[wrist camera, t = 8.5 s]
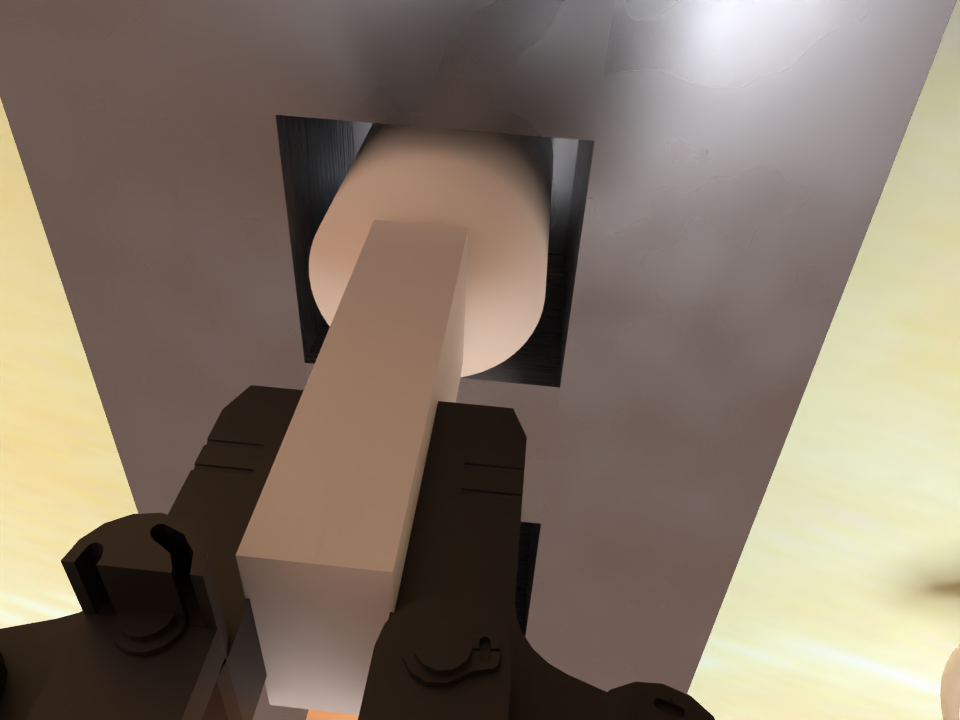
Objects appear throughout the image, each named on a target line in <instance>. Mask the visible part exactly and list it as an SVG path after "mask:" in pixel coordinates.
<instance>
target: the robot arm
mask: <svg viewBox="0 0 960 720" xmlns="http://www.w3.org/2000/svg"><path fill="white" fill-rule="evenodd" d="M467 249H468V228H465V227H453V226H442V225H430V224H419V223H407V222H396V221H384V220H374V221H373V224H372V226H371V229H370V231H369V233H368V236H367V238H366V241H365V243H364V246H363V248H362V250H361V253H360V255H359V258H358V260H357V262H356V265H355V267H354V270H353V272H352V275H351V277H350V279H349V282H348V284H347V287H346V289H345V292H344V294H343V296H342V299H341V301H340V304H339V306H338V309H337V311H336V313H335V316H334V318H333V321H332V323H331V325H330V328H329V330H328V333H327V335H326V338H325V340H324V342H323V345H322V347H321V350H320V352H319V355H318V357H317V359H316V362H315V364H314V367H313V369H312V371H311V374H310V376H309V379H308V381H307V384H306V386H305V388H304V390H297V389H286V388H276V387H266V386H255V385H251V386H249V387H248V388H247V389H246V390H245V391H243V392H242V393H241V394H240V395H239V396H238V397H236V398H235V399H234V400H233V401H232V402H231V403H229V404H228V405H227V406H226V407H225V408H223V409H222V411H221V413H220V415H219V417H218V419H217V421H216V423H215V425H214V427H213V429H212V430H211V432H210V434H209V436H208V438H207V444H206V445H204V446H203V448H202V450H201V452H200V454H199V455H198V457H197V459H196V461H195V463H194V465H195V466H194V470H191V471H190V473H189V475H188V477H187V479H186V480H185V482H184V484H183V486H182V488H181V490H180V492H179V494H178V496H177V498H176V500H175V502H174V504H173V505H172V507H171V509H170V511H169V513H168V515H167V514H164V513H145V514H132V515H129V516H126V517H123V518H120V519H117V520H114V521H110V522H107V523H105V524H103V525H101V526H100V527H98V528H97V529H95V530H94V531H92V532H91V533H89V534H87V535H86V536H84V537H83V538H81V539H80V540H79V541H78V542H77V543H76V544H75V545H74V546H73V548H72V549H71V550H70V551H69V552H68V553H67V554H66V556H65V557H64V558H63V559H62V560H61V563H62V565H63V567H64V569H65V572H66V574H67V576H68V578H69V581H70V583H71V585H72V587H73V590H74V592H75V594H76V596H77V599H78V601H79V603H80V605H81V607H82V610H83V611H82V612H80V613H76V614H73V615H69V616H65V617H62V618H58V619H53V620H48V621H42V622H36V623H31V624H25V625H20V626H14V627H8V628H3V629H0V720H253V717H254V713H255V710H256V707H257V704H258V701H259V698H260V695H261V692H262V689H263V686H264V683H265V686H266V690H267V694H268V699H269V703H270V705H275V706H284V707H292V708H301V709H310V710H318V711H327V712H335V713H344V714H352V715H359V717H358V720H715V719H714V717H713V716H712V715H711V714H710V713H709V712H708V711H707V710H706V709H704V708H703V707H702V706H701V705H700V704H699V703H698V702H697V701H695V700H694V699H693V698H692V697H691V696H690V695H687V694H685V693H683V692H681V691H678V690H676V689H674V688H672V687H669V686H667V685H665V684H661V683H647V682H632V683H629V684H626V685H623V686H620V687H617V688H614V689H611V690H609V691H608V692H606V691H603V690H601V689H599V688H597V687H595V686H592V685H590V684H588V683H586V682H583V681H581V680H579V679H577V678H575V677H572V676H570V675H568V674H566V673H564V672H563V671H561V670H559V669H558V668H556V667H554V666H552V665H551V664H549V663H548V662H547V661H546V660H545V659H543V658H542V657H541V656H540V655H539V654H538V653H537V652H536V651H535V650H534V649H533V648H532V646H531V645H530V643H529V642H528V640H527V639H526V637H525V636H524V634H523V633H522V630H521V627H520V625H519V622H518V619H517V616H516V604H515V593H516V579H517V565H518V552H519V538H520V524H521V511H522V496H523V483H524V469H525V456H526V442H527V436H526V434H525V432H524V430H523V428H522V426H521V424H520V422H519V420H518V417H517V415H516V413H515V411H514V409H513V408H506V407H495V406H485V405H475V404H464V403H456V399H457V394H458V388H459V383H460V377H461V372H462V366H463V350H464V325H465V300H466V274H467Z"/></svg>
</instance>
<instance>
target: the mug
mask: <svg viewBox="0 0 960 720" xmlns="http://www.w3.org/2000/svg"><path fill="white" fill-rule="evenodd" d="M940 697H941V707H942V715H943V720H959V710H960V645H959V646H958V647H957V648H956V649H955V650H954V651H953V652H952V654H951V656H950V658H949V660H948V661H947V663H946V666H945V669H944V672H943V676H942V680H941V694H940Z"/></svg>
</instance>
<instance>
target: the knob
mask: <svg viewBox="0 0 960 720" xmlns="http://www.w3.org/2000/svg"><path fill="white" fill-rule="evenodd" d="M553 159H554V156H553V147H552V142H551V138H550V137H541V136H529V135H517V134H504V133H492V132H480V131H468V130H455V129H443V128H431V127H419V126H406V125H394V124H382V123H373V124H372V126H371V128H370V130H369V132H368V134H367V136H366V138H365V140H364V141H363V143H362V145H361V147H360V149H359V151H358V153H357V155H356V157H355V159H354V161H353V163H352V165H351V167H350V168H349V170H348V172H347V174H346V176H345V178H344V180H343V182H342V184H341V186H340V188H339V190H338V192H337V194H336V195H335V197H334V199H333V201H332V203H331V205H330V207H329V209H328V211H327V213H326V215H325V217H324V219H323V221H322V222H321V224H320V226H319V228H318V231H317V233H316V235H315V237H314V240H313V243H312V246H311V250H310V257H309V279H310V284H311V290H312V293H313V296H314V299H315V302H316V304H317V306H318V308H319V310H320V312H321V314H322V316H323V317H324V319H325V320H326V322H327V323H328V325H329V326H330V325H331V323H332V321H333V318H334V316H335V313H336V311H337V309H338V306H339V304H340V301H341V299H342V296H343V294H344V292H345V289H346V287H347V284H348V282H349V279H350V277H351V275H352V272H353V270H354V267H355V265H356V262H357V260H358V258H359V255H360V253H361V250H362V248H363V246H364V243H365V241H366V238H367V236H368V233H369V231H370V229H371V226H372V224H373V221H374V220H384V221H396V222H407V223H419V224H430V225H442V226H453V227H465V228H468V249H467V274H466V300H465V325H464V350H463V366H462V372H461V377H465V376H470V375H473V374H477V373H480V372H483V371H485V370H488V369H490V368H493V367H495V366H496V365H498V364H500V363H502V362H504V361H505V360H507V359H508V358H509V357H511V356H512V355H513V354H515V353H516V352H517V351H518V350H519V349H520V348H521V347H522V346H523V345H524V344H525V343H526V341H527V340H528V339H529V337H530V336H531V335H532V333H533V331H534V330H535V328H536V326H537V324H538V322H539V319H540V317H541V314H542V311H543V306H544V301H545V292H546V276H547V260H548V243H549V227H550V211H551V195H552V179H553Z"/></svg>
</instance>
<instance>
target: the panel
mask: <svg viewBox="0 0 960 720" xmlns="http://www.w3.org/2000/svg"><path fill="white" fill-rule="evenodd" d="M956 1H957V0H0V97H1V100H2V103H3V106H4V109H5V112H6V115H7V118H8V121H9V125H10V128H11V131H12V134H13V137H14V140H15V143H16V146H17V149H18V152H19V155H20V158H21V161H22V164H23V167H24V170H25V173H26V176H27V179H28V182H29V185H30V188H31V191H32V194H33V197H34V200H35V203H36V206H37V209H38V212H39V215H40V218H41V221H42V224H43V227H44V230H45V233H46V236H47V239H48V242H49V245H50V248H51V251H52V254H53V257H54V260H55V263H56V266H57V269H58V272H59V275H60V278H61V281H62V284H63V287H64V290H65V293H66V296H67V299H68V302H69V305H70V308H71V311H72V314H73V317H74V320H75V323H76V326H77V329H78V332H79V335H80V338H81V341H82V344H83V347H84V350H85V353H86V357H87V360H88V363H89V366H90V369H91V372H92V375H93V378H94V381H95V384H96V387H97V390H98V393H99V396H100V399H101V402H102V405H103V408H104V411H105V414H106V417H107V420H108V423H109V426H110V429H111V432H112V435H113V438H114V441H115V444H116V447H117V450H118V453H119V456H120V459H121V462H122V465H123V468H124V471H125V474H126V477H127V480H128V483H129V486H130V489H131V492H132V495H133V498H134V501H135V504H136V507H137V510H138V513H139V514H145V513H164V514H167V515H168V513H169V511H170V509H171V507H172V505H173V504H174V502H175V500H176V498H177V496H178V494H179V492H180V490H181V488H182V486H183V484H184V482H185V480H186V479H187V477H188V475H189V473H190V471H191V470H194V466H195V465H194V463H195V461H196V459H197V457H198V455H199V454H200V452H201V450H202V448H203V446H204V445H206V444H207V438H208V436H209V434H210V432H211V430H212V429H213V427H214V425H215V423H216V421H217V419H218V417H219V415H220V413H221V411H222V409H223V408H225V407H226V406H227V405H228V404H229V403H231V402H232V401H233V400H234V399H235V398H236V397H238V396H239V395H240V394H241V393H242V392H243V391H245V390H246V389H247V388H248V387H249V386H251V385H255V386H266V387H276V388H286V389H297V390H304V388H305V386H306V384H307V381H308V379H309V376H310V374H311V371H312V369H313V367H314V364H315V362H316V359H317V357H318V355H319V352H320V350H321V347H322V345H323V342H324V340H325V338H326V335H327V333H328V330H329V328H330V326H329V325H328V323H327V322H326V320H325V319H324V317H323V316H322V314H321V312H320V310H319V308H318V306H317V304H316V302H315V299H314V296H313V293H312V290H311V284H310V279H309V257H310V250H311V246H312V243H313V240H314V237H315V235H316V233H317V231H318V228H319V226H320V224H321V222H322V221H323V219H324V217H325V215H326V213H327V211H328V209H329V207H330V205H331V203H332V201H333V199H334V197H335V195H336V194H337V192H338V190H339V188H340V186H341V184H342V182H343V180H344V178H345V176H346V174H347V172H348V170H349V168H350V167H351V165H352V163H353V161H354V159H355V157H356V155H357V153H358V151H359V149H360V147H361V145H362V143H363V141H364V140H365V138H366V136H367V134H368V132H369V130H370V128H371V126H372V124H373V123H382V124H394V125H406V126H419V127H431V128H443V129H455V130H468V131H480V132H492V133H504V134H517V135H529V136H541V137H550V138H551V142H552V147H553V156H554V159H553V179H552V195H551V211H550V227H549V243H548V260H547V276H546V292H545V301H544V306H543V311H542V314H541V317H540V319H539V322H538V324H537V326H536V328H535V330H534V331H533V333H532V335H531V336H530V337H529V339H528V340H527V341H526V343H525V344H524V345H523V346H522V347H521V348H520V349H519V350H518V351H517V352H516V353H515V354H513V355H512V356H511V357H509V358H508V359H507V360H505V361H504V362H502V363H500V364H498V365H496V366H495V367H493V368H490V369H488V370H485V371H483V372H480V373H477V374H473V375H470V376H465V377H460V383H459V388H458V394H457V399H456V403H464V404H475V405H485V406H495V407H506V408H513V409H514V411H515V413H516V415H517V417H518V420H519V422H520V424H521V426H522V428H523V430H524V432H525V434H526V436H527V442H526V456H525V469H524V483H523V496H522V511H521V524H520V538H519V552H518V565H517V579H516V593H515V604H516V616H517V619H518V622H519V625H520V627H521V630H522V633H523V634H524V636H525V637H526V639H527V640H528V642H529V643H530V645H531V646H532V648H533V649H534V650H535V651H536V652H537V653H538V654H539V655H540V656H541V657H542V658H543V659H545V660H546V661H547V662H548V663H549V664H551V665H552V666H554V667H556V668H558V669H559V670H561V671H563V672H564V673H566V674H568V675H570V676H572V677H575V678H577V679H579V680H581V681H583V682H586V683H588V684H590V685H592V686H595V687H597V688H599V689H601V690H603V691H606V692H608V691H609V690H611V689H614V688H617V687H620V686H623V685H626V684H629V683H632V682H647V683H661V684H665V685H667V686H669V687H672V688H674V689H676V690H678V691H681V692H683V693H685V694H687V692H688V689H689V687H690V684H691V682H692V679H693V676H694V674H695V671H696V669H697V666H698V664H699V661H700V659H701V656H702V653H703V651H704V648H705V646H706V643H707V641H708V638H709V635H710V633H711V630H712V628H713V625H714V623H715V620H716V617H717V615H718V612H719V610H720V607H721V605H722V602H723V599H724V597H725V594H726V592H727V589H728V587H729V584H730V581H731V579H732V576H733V574H734V571H735V569H736V566H737V563H738V561H739V558H740V556H741V553H742V551H743V548H744V545H745V543H746V540H747V538H748V535H749V533H750V530H751V527H752V525H753V522H754V520H755V517H756V515H757V512H758V509H759V507H760V504H761V502H762V499H763V497H764V494H765V491H766V489H767V486H768V484H769V481H770V479H771V476H772V473H773V471H774V468H775V466H776V463H777V461H778V458H779V455H780V453H781V450H782V448H783V445H784V443H785V440H786V437H787V435H788V432H789V430H790V427H791V425H792V422H793V419H794V417H795V414H796V412H797V409H798V407H799V404H800V401H801V399H802V396H803V394H804V391H805V389H806V386H807V383H808V381H809V378H810V376H811V373H812V371H813V368H814V365H815V363H816V360H817V358H818V355H819V353H820V350H821V347H822V345H823V342H824V340H825V337H826V335H827V332H828V330H829V327H830V324H831V322H832V319H833V317H834V314H835V312H836V309H837V306H838V304H839V301H840V299H841V296H842V294H843V291H844V288H845V286H846V283H847V281H848V278H849V276H850V273H851V270H852V268H853V265H854V263H855V260H856V258H857V255H858V252H859V250H860V247H861V245H862V242H863V240H864V237H865V234H866V232H867V229H868V227H869V224H870V222H871V219H872V216H873V214H874V211H875V209H876V206H877V204H878V201H879V198H880V196H881V193H882V191H883V188H884V186H885V183H886V180H887V178H888V175H889V173H890V170H891V168H892V165H893V162H894V160H895V157H896V155H897V152H898V150H899V147H900V144H901V142H902V139H903V137H904V134H905V132H906V129H907V126H908V124H909V121H910V119H911V116H912V114H913V111H914V108H915V106H916V103H917V101H918V98H919V96H920V93H921V90H922V88H923V85H924V83H925V80H926V78H927V75H928V72H929V70H930V67H931V65H932V62H933V60H934V57H935V54H936V52H937V49H938V47H939V44H940V42H941V39H942V36H943V34H944V31H945V29H946V26H947V24H948V21H949V19H950V16H951V13H952V11H953V8H954V6H955V3H956ZM308 711H309V709H301V708H292V707H284V706H275V705H270V703H269V699H268V694H267V690H266V686H265V683H264V686H263V689H262V692H261V695H260V698H259V701H258V704H257V707H256V710H255V713H254V717H253V720H306V718H307V714H308Z"/></svg>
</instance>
